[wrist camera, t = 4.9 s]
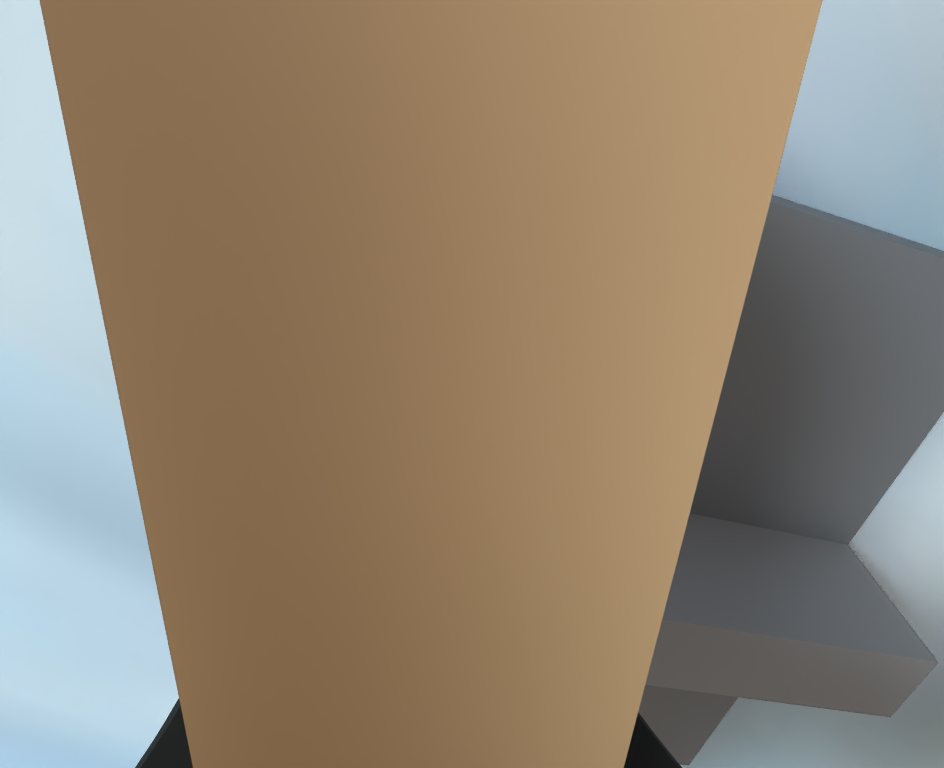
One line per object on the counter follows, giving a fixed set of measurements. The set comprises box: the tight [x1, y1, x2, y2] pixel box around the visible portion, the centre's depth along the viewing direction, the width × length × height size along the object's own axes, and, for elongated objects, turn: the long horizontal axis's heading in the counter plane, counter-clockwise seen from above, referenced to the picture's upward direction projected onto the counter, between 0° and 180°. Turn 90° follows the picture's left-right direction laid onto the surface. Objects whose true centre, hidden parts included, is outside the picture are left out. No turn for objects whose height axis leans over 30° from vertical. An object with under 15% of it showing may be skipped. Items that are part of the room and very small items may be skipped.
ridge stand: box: [638, 195, 944, 765], centre depth 19 cm, size 14×18×5 cm
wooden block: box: [40, 0, 822, 768], centre depth 10 cm, size 3×18×6 cm, turn 177°
